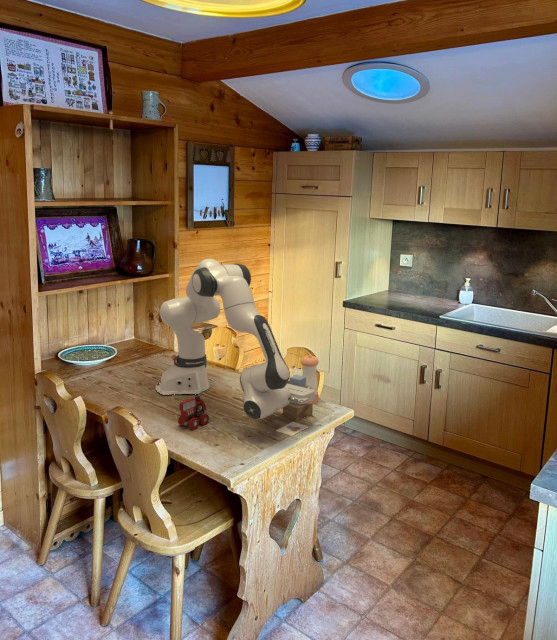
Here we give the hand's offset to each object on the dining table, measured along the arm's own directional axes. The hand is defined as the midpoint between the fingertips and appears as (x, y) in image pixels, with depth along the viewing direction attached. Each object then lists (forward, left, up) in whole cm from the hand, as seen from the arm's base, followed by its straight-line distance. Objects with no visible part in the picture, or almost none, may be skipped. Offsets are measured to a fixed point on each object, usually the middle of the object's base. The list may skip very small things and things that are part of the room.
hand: (299, 385), depth 228 cm
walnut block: (-1, 0, -12) cm, 12 cm away
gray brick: (-1, 0, -7) cm, 7 cm away
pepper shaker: (+8, +11, -12) cm, 18 cm away
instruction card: (-7, -13, -11) cm, 18 cm away
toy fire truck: (-40, +1, -12) cm, 41 cm away
